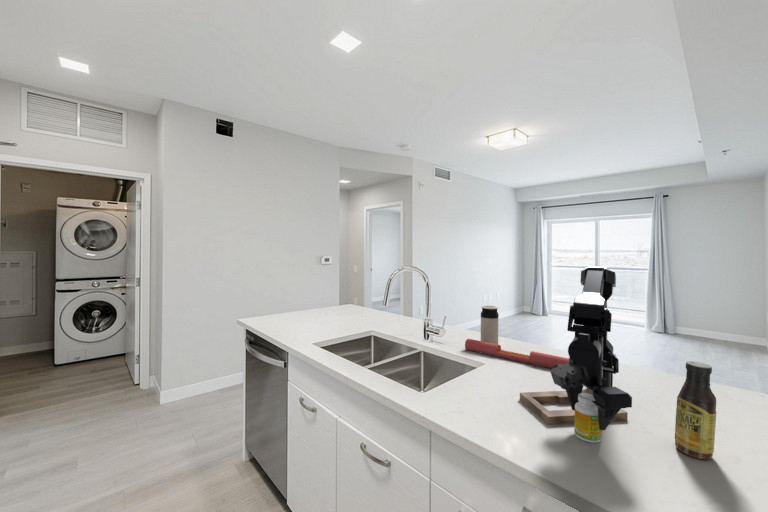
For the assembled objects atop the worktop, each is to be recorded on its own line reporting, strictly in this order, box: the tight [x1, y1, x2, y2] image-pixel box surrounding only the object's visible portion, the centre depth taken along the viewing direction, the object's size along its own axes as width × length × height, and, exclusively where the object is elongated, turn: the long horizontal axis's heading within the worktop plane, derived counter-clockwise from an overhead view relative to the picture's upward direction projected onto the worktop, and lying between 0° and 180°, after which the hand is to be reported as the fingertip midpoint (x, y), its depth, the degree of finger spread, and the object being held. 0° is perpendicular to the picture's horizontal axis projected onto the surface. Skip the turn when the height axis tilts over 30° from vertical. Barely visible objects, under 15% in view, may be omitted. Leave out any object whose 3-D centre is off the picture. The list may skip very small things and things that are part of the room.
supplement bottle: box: [574, 393, 602, 444], centre depth 76 cm, size 5×5×10 cm
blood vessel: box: [464, 338, 570, 370], centre depth 131 cm, size 42×5×5 cm, turn 49°
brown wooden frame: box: [519, 389, 629, 425], centre depth 90 cm, size 22×14×2 cm, turn 96°
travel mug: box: [480, 305, 499, 345], centre depth 152 cm, size 8×8×18 cm
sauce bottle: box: [674, 360, 717, 461], centre depth 70 cm, size 7×6×20 cm
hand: (587, 419), depth 77 cm, fingers open, 9 cm apart
